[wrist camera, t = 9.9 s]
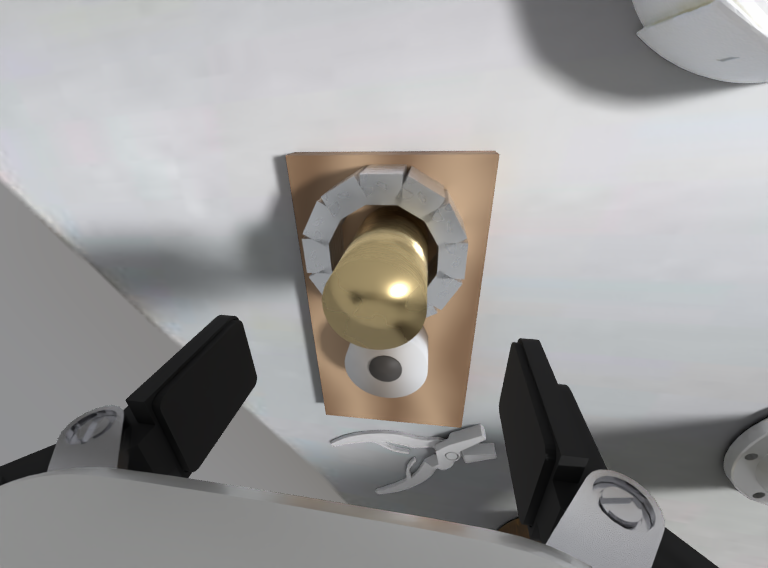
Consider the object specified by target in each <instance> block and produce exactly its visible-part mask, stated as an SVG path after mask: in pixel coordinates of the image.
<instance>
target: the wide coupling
mask: <svg viewBox="0 0 768 568" xmlns="http://www.w3.org/2000/svg"><path fill="white" fill-rule="evenodd" d="M365 205H398V206H400V207H401V208H403V209H405V210H406V211H408V212H410V213H411V214H413V215H415V216H417V217H418V218H420V219H422V220H423V221H425V223H426V225H427V227H428V228H429V230H430V232H431V234H432V236H433V237H434V239H435V241H436V243H437V253H436V254H435V256H434V257H433V258H432V260H431V261H430V263H429V264H428V276H427V314H426V318H427V317H429V316H432V315H434V314H437V308H438V309H440V310H442V309H443V308H444V306H445V305H446V304H447V303H448V301H449V300H450V299H451V298H452V296H453V295H454V294H455V293H456V291H457V290H458V289H459V288H460V286H461V285H462V279H465V270H466V260H467V251H468V240H467V235H466V231H465V227H464V223H463V220H462V218H461V216H460V214H459V212H458V210H457V208H456V206H455V204H454V202H453V200H452V198H451V196H450V194H449V192H448V190H447V189H446V190H444V185H442V184H441V183H439V182H438V181H436V180H434V179H433V178H431V177H429V176H428V175H426V174H424V173H423V172H421V171H420V170H418V169H416V168H415V167H413V166H411V168H410V170H409V172H408V173H407V164H370V165H369V166H368V167H367V168H366V167H365V166H364V167H362V168H361V169H359V170H358V171H356V172H354V173H353V174H351V175H350V176H348V177H347V178H345V179H343V180H342V181H340V182H339V183H337V184H336V185H334V186H333V187H332V188H331V189H330V190H328V191H327V192H326V193H325V194H323V195H322V196H321V198H320V199H319V200H318V201H317V202H316V204H315V207H314V209H313V211H312V213H311V216H310V218H309V220H308V222H307V225H306V227H305V229H304V232H303V235H305V236H304V237H303V238H302V243H303V250H304V256H305V263H306V270H307V273H312V274H311V275H310V276H309V278H310V279H311V281H312V282H313V283H314V285H315V286H316V287H317V289H318V290H319V291H320V293H321V294H323V290H324V287H325V285H326V282H327V281H328V279H329V277H330V276H331V274H332V272H333V271H334V269H335V267H336V266H337V264H338V262H339V261H340V259H341V257H342V256H343V254H344V252H345V251H344V245H343V234H342V225H343V223H344V221H345V219H346V217H347V216H348V215H349V214H351V213H353V212H354V211H356V210H358V209H360V208H361V207H363V206H365Z"/></svg>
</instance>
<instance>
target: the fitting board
mask: <svg viewBox="0 0 768 568" xmlns="http://www.w3.org/2000/svg"><path fill="white" fill-rule="evenodd" d="M498 161H499V154H498V153H497V152H496V151H408V152H294V153H291V154H288V155H286V162H287V169H288V175H289V181H290V188H291V194H292V201H293V207H294V213H295V220H296V226H297V233H298V239H299V245H300V252H301V258H302V264H303V271H304V277H305V284H306V290H307V296H308V303H309V309H310V315H311V322H312V328H313V335H314V341H315V347H316V354H317V360H318V366H319V373H320V379H321V386H322V392H323V398H324V405H325V411H326V415H336V416H346V417H356V418H366V419H377V420H387V421H397V422H408V423H418V424H428V425H439V426H449V427H459V428H461V426H462V419H463V411H464V404H465V397H466V390H467V383H468V376H469V368H470V361H471V354H472V347H473V340H474V333H475V325H476V318H477V311H478V304H479V297H480V290H481V282H482V275H483V268H484V261H485V254H486V247H487V239H488V232H489V225H490V218H491V211H492V204H493V196H494V189H495V182H496V175H497V168H498ZM370 164H407V173H408V172H409V170H410V168H411V166H413V167H415V168H416V169H418V170H420V171H421V172H423V173H424V174H426V175H428V176H429V177H431V178H433V179H434V180H436V181H438V182H439V183H441V184H442V185H444V190H446V189H447V190H448V192H449V194H450V196H451V198H452V200H453V202H454V204H455V206H456V208H457V210H458V212H459V214H460V216H461V218H462V220H463V223H464V227H465V231H466V235H467V240H468V251H467V260H466V270H465V279H462V285H461V286H460V288H459V289H458V290H457V291H456V293H455V294H454V295H453V296H452V298H451V299H450V300H449V301H448V303H447V304H446V305H445V306H444V308H443V309H442V310H440V309H438V308H437V314H434V315H432V316H429V317H427V318H426V319H425V322H424V324H423V327H422V328H421V330H420V331H419V333H418V334H417V335H416V336H415V337H414V338H413V339H411V340H410V341H409V342H407V343H405V344H403V345H401V346H399V347H396V348H392V349H385V350H373V349H367V348H362V347H359V346H356V345H354V344H352V343H350V342H348V341H346V340H345V339H343V338H342V337H341V336H340V335H338V334H337V333H336V332H335V331H334V330H333V328H332V327H331V326H330V324H329V323H328V321H327V319H326V317H325V314H324V312H323V307H322V294H321V293H320V291H319V290H318V289H317V287H316V286H315V285H314V283H313V282H312V281H311V279H310V278H309V276H310V275H311V274H312V273H307V270H306V263H305V256H304V250H303V243H302V238H303V237H304V236H305V235H303V232H304V229H305V227H306V225H307V222H308V220H309V218H310V216H311V213H312V211H313V209H314V207H315V204H316V202H317V201H318V200H319V199H320V198H321V196H322V195H323V194H325V193H326V192H327V191H328V190H330V189H331V188H332V187H333V186H334V185H336V184H337V183H339V182H340V181H342V180H343V179H345V178H347V177H348V176H350V175H351V174H353V173H354V172H356V171H358V170H359V169H361V168H362V167H364V166H365V167H366V168H367V167H368V166H369V165H370ZM385 206H398V205H365V206H363V207H361V208H360V209H358V210H356V211H354V212H353V213H351V214H349V215H348V216H347V217H346V219H345V221H344V223H343V225H342V234H343V245H344V251H346V249H347V248H348V246H349V244H350V243H351V241H352V239H353V238H354V236H355V234H356V233H357V231H358V229H359V228H360V226H361V224H362V223H363V221H364V219H365V218H366V217H367V216H368V215H369V214H370V213H371V212H373V211H374V210H376V209H378V208H381V207H385ZM421 220H422V219H421ZM422 222H423V223H424V225H425V227H426V230H427V234H428V264H429V263H430V261H431V260H432V258H433V257H434V256H435V254H436V253H437V243H436V241H435V239H434V237H433V236H432V234H431V232H430V230H429V228H428V227H427V225H426V223H425V221H423V220H422Z"/></svg>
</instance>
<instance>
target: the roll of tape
mask: <svg viewBox="0 0 768 568" xmlns="http://www.w3.org/2000/svg"><path fill="white" fill-rule="evenodd" d="M632 3H633V5H634V8H635V10H636V13H637V15H638V17H639V19H640V21H641V23H642V25H643V27H644V28H643V29H642V30H639V31H638V32H637V36H638V37H639V38H640V39H641V40H642V41H643V42H644V43H645V44H647V45H648V46H649V47H650V48H651V49H652V50H654V51H655V52H656V53H657V54H659V55H660V56H661V57H663V58H665V59H666V60H668V61H670V62H671V63H673V64H675V65H677V66H679V67H680V68H682V69H685V70H687V71H689V72H692V73H694V74H697V75H700V76H704V77H707V78H710V79H715V80H720V81H725V82H732V83H763V82H768V0H632Z"/></svg>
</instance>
